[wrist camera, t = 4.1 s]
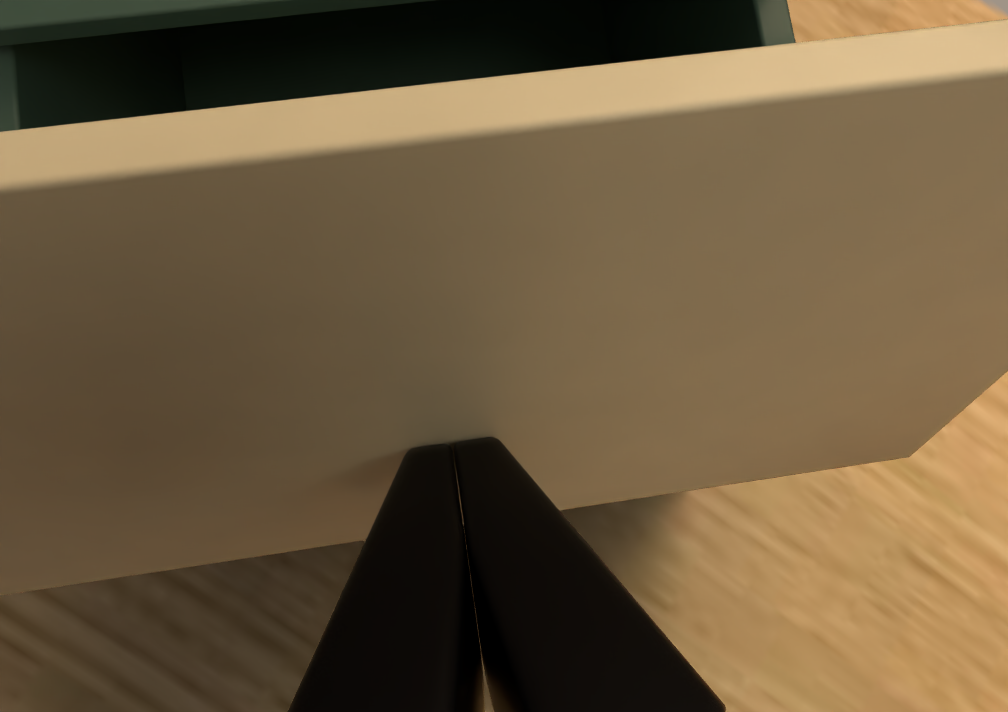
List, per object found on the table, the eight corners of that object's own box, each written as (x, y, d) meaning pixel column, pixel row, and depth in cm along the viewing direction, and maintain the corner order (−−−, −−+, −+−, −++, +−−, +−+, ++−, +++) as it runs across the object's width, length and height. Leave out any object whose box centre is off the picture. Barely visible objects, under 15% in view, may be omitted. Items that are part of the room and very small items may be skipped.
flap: (897, 428, 10) (910, 457, 10) (-18, 564, 9) (-23, 600, 9) (1366, -25, 5) (1411, 24, 5) (-758, 212, 4) (-812, 283, 4)
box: (696, 460, 19) (914, 443, 10) (212, 532, 18) (-31, 586, 9) (604, -55, 21) (720, -469, 12) (159, -10, 20) (-90, -417, 11)
